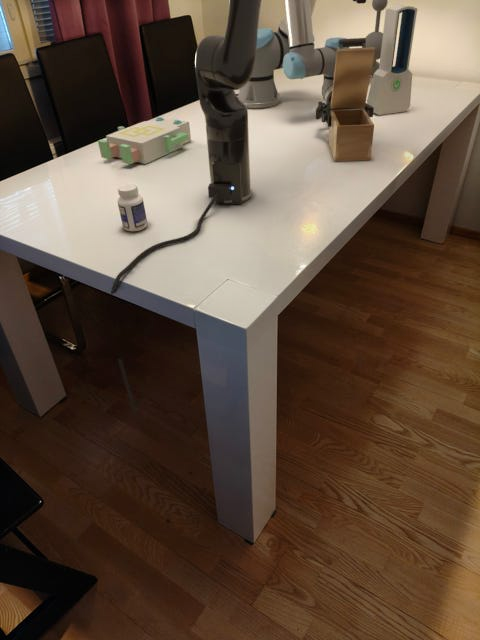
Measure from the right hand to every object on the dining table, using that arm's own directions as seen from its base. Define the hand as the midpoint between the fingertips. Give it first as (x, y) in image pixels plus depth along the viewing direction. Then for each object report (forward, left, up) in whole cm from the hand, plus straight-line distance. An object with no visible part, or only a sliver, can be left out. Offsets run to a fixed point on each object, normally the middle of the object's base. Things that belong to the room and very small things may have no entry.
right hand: (348, 121), depth 136 cm
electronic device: (-22, +31, -7) cm, 38 cm away
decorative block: (-26, -52, -7) cm, 58 cm away
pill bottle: (+21, -67, -7) cm, 70 cm away
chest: (+4, -2, -7) cm, 8 cm away
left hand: (+1, -1, +28) cm, 28 cm away
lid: (0, 0, +10) cm, 10 cm away
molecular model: (-58, +47, -7) cm, 75 cm away
